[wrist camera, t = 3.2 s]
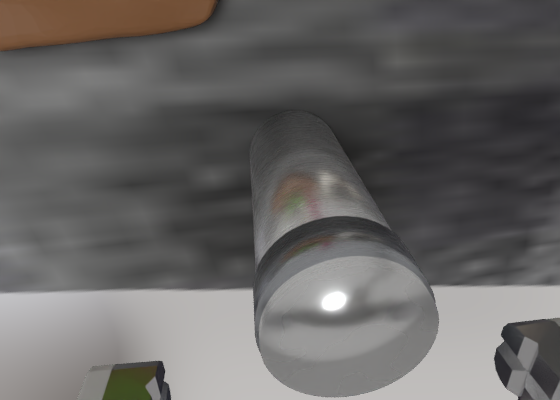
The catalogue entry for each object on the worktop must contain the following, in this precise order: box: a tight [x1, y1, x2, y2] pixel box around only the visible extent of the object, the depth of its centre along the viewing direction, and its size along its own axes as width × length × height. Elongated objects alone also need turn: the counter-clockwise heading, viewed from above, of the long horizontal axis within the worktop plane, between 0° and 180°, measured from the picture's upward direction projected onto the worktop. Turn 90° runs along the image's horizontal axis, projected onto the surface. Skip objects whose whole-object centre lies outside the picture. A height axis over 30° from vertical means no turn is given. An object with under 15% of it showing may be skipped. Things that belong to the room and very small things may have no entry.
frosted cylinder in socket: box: [250, 111, 439, 397], centre depth 15 cm, size 5×5×12 cm
